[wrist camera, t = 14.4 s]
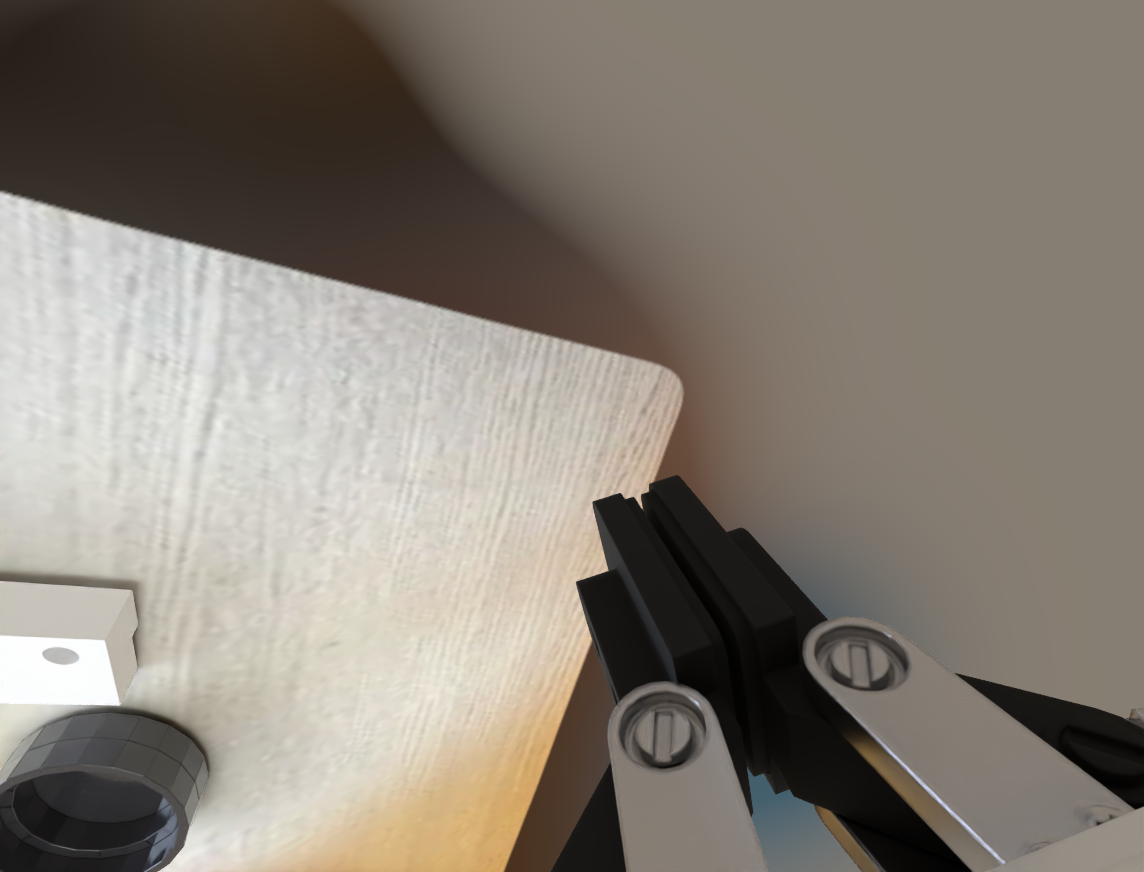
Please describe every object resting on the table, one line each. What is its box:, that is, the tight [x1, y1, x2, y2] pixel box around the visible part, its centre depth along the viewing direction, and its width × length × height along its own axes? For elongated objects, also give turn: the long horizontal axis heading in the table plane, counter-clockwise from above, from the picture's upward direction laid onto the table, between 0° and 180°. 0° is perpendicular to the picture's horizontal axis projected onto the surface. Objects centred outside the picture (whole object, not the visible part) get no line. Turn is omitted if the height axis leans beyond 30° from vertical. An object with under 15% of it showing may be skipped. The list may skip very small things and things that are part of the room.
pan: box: [0, 712, 208, 872], centre depth 40 cm, size 12×12×4 cm
